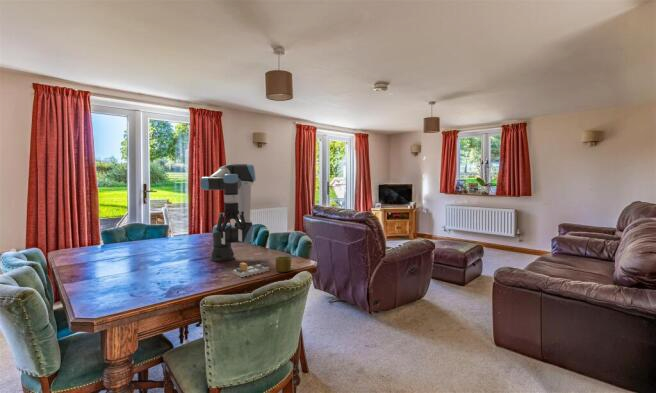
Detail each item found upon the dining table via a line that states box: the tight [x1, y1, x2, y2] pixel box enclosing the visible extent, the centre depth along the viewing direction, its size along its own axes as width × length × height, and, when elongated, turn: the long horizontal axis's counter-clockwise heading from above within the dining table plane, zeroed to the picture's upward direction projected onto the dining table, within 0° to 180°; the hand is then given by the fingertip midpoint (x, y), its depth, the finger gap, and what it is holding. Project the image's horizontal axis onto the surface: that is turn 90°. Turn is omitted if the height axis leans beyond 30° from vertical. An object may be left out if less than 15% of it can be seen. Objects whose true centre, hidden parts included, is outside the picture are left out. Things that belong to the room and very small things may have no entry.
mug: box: [275, 255, 292, 273], centre depth 192 cm, size 12×10×10 cm
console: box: [232, 262, 270, 278], centre depth 187 cm, size 10×18×4 cm, turn 133°
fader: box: [239, 262, 248, 271], centre depth 184 cm, size 4×2×4 cm, turn 43°
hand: (231, 242), depth 178 cm, fingers open, 9 cm apart
